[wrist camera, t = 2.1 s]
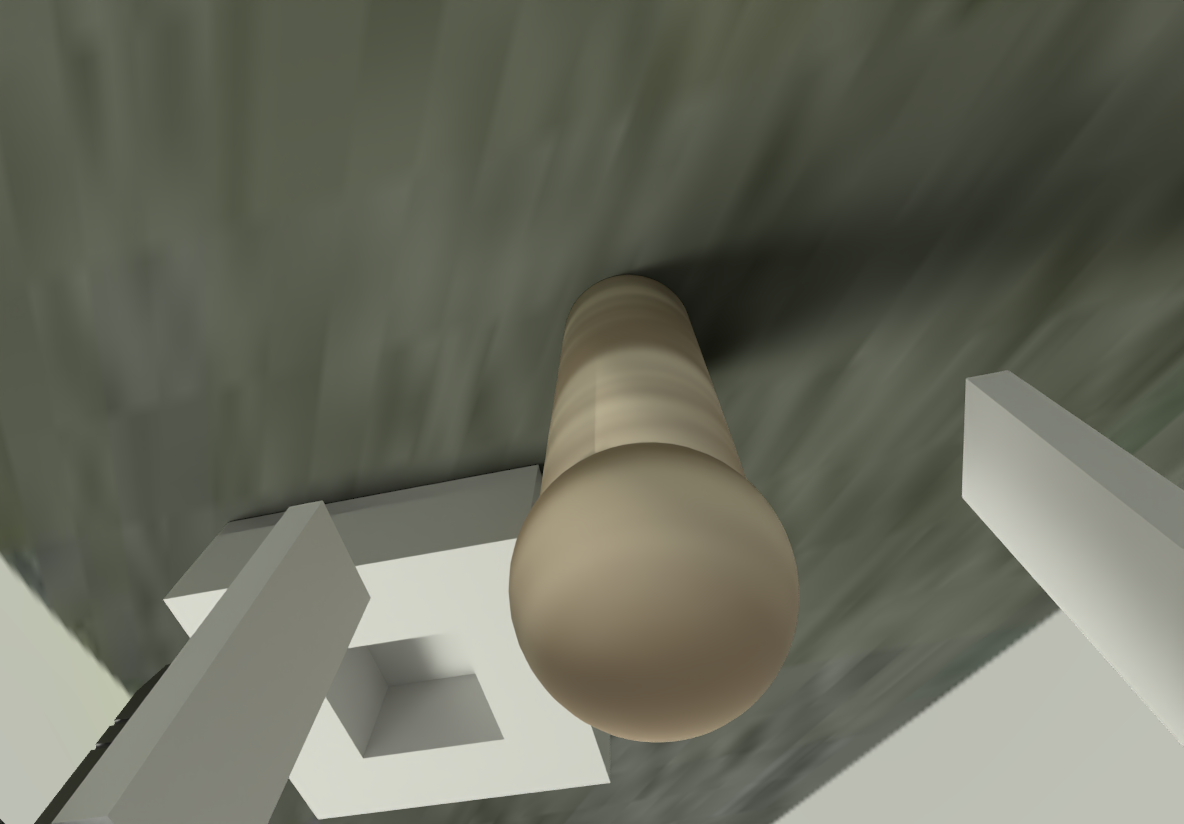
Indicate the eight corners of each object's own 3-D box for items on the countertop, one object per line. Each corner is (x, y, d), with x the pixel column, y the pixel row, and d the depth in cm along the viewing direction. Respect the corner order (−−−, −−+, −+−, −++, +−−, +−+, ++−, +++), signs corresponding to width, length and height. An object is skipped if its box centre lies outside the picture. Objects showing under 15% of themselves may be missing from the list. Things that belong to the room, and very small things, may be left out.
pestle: (538, 282, 20) (438, 604, 8) (688, 250, 19) (831, 541, 7) (573, 413, 22) (538, 827, 10) (709, 386, 21) (849, 791, 9)
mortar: (228, 522, 24) (163, 599, 20) (538, 464, 23) (526, 536, 19) (352, 729, 29) (318, 819, 26) (609, 693, 28) (610, 782, 24)
